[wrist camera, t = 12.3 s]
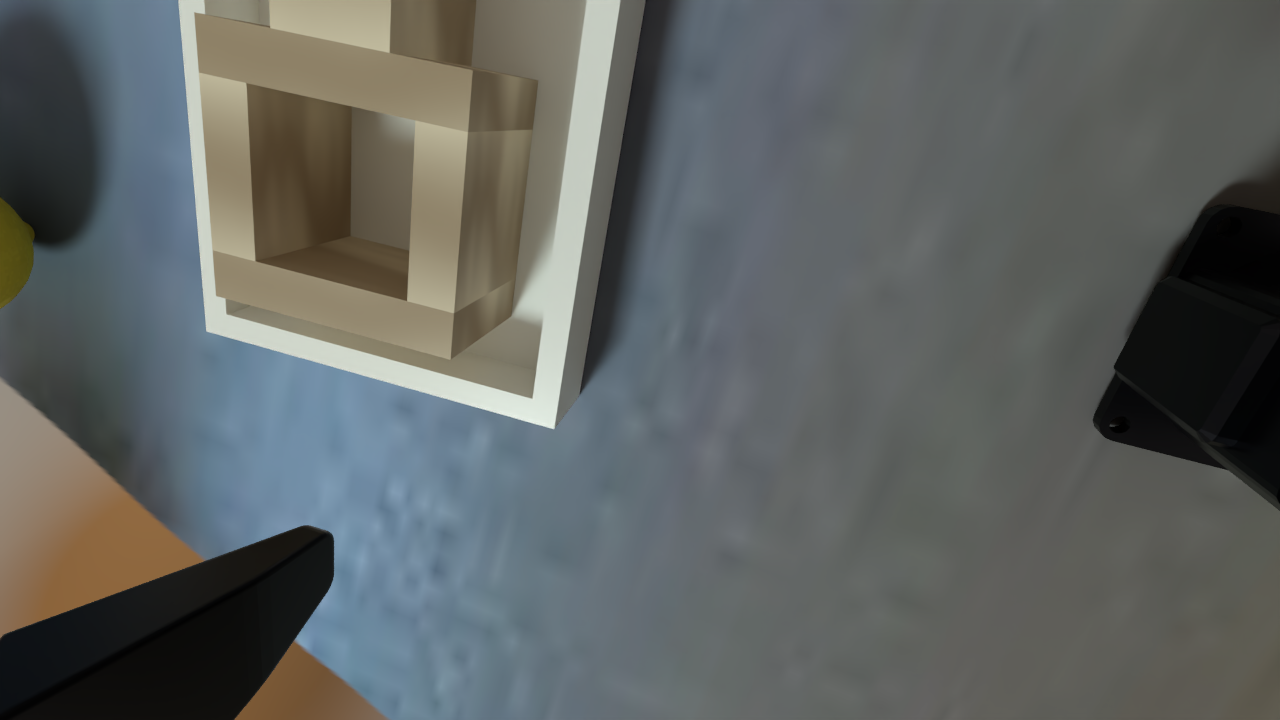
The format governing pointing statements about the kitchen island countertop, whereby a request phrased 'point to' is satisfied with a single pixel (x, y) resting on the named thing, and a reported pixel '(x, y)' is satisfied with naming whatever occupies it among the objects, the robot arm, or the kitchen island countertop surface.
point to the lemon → (14, 253)
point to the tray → (552, 218)
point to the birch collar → (321, 167)
